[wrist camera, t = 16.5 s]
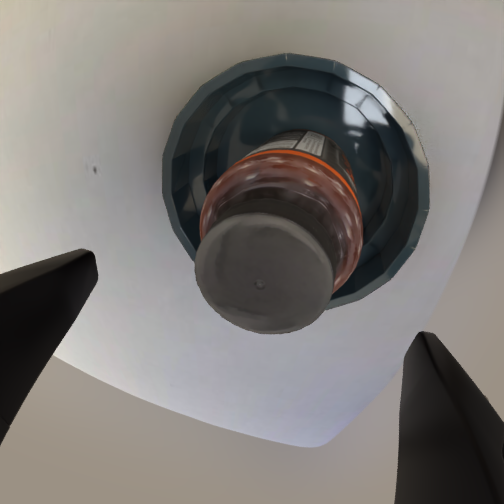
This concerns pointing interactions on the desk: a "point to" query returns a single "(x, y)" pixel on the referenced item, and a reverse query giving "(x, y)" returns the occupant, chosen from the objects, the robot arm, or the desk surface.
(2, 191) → the desk surface
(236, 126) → the bowl
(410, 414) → the robot arm
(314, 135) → the supplement bottle
